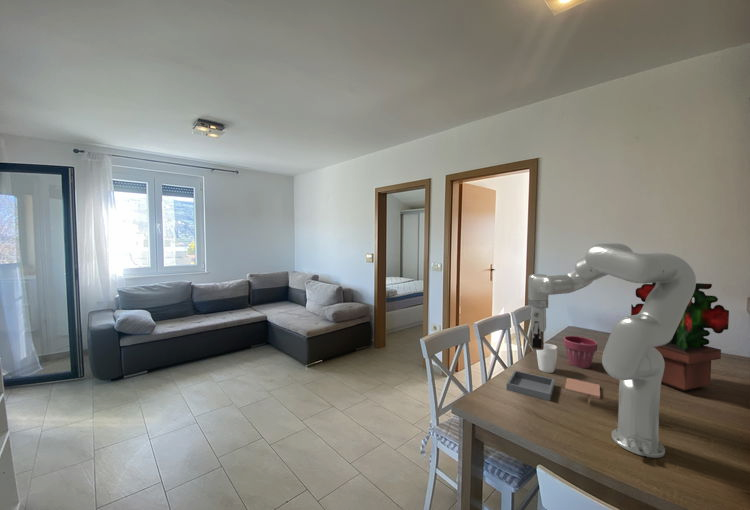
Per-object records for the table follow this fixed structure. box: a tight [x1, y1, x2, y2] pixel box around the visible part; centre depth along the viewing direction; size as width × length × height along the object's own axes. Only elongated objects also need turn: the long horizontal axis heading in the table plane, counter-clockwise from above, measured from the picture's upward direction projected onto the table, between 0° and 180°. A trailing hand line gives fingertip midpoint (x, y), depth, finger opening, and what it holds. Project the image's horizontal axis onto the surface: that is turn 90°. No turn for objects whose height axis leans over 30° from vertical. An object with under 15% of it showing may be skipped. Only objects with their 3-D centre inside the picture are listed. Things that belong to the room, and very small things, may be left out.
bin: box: [506, 370, 555, 402], centre depth 130 cm, size 16×16×4 cm
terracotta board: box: [564, 377, 601, 400], centre depth 130 cm, size 12×12×1 cm
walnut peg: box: [531, 330, 545, 350], centre depth 129 cm, size 4×4×8 cm
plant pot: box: [563, 335, 598, 369], centre depth 155 cm, size 14×14×13 cm
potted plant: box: [630, 282, 730, 392], centre depth 133 cm, size 22×22×45 cm
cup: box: [535, 342, 558, 373], centre depth 149 cm, size 9×9×12 cm
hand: (537, 345), depth 129 cm, fingers closed on walnut peg, 4 cm apart
